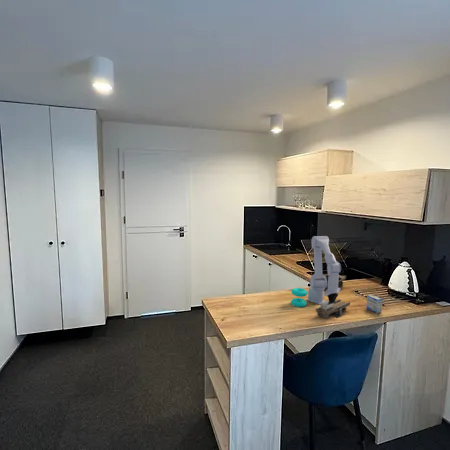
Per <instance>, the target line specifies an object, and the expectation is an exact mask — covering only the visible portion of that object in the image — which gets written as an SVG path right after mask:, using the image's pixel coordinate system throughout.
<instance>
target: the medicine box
mask: <svg viewBox="0 0 450 450" xmlns="http://www.w3.org/2000/svg"><path fill="white" fill-rule="evenodd" d="M366 297H367V298H366V305H365V307H366V310H369V311H371V312H372V313H376V314H378V313H382V311H383V300H384V299H383V298H382V297H378V296H376V295H373V294H368V295H367V296H366Z"/></svg>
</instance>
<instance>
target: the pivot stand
mask: <svg viewBox="0 0 450 450" xmlns="http://www.w3.org/2000/svg"><path fill="white" fill-rule="evenodd" d="M343 311H347V307H345V308H342V309H341V308H340V309H339V310H338V311H336V312H333V313H331V314H329V316H332V317H336V318H341V317H342V316H345V315H346V313H345V312H343Z"/></svg>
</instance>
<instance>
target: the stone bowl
mask: <svg viewBox="0 0 450 450" xmlns="http://www.w3.org/2000/svg"><path fill="white" fill-rule="evenodd" d="M323 275H324V276H325V277H326V280H327V286H328V276H329V275H328V273H327V274H323ZM316 279H322V278H316ZM346 279H347V275H340V274H339V279H338V288H341V289H342V288H343V287H344V283H343V281H346Z"/></svg>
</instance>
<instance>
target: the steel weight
mask: <svg viewBox="0 0 450 450" xmlns="http://www.w3.org/2000/svg"><path fill="white" fill-rule="evenodd" d="M324 301H325V302H322V303H321V304H319V307H320V310H322V311H325V312H327V311H329V310H331V309H333V308H334V303H333V302H330V301H329V300H324Z"/></svg>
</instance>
